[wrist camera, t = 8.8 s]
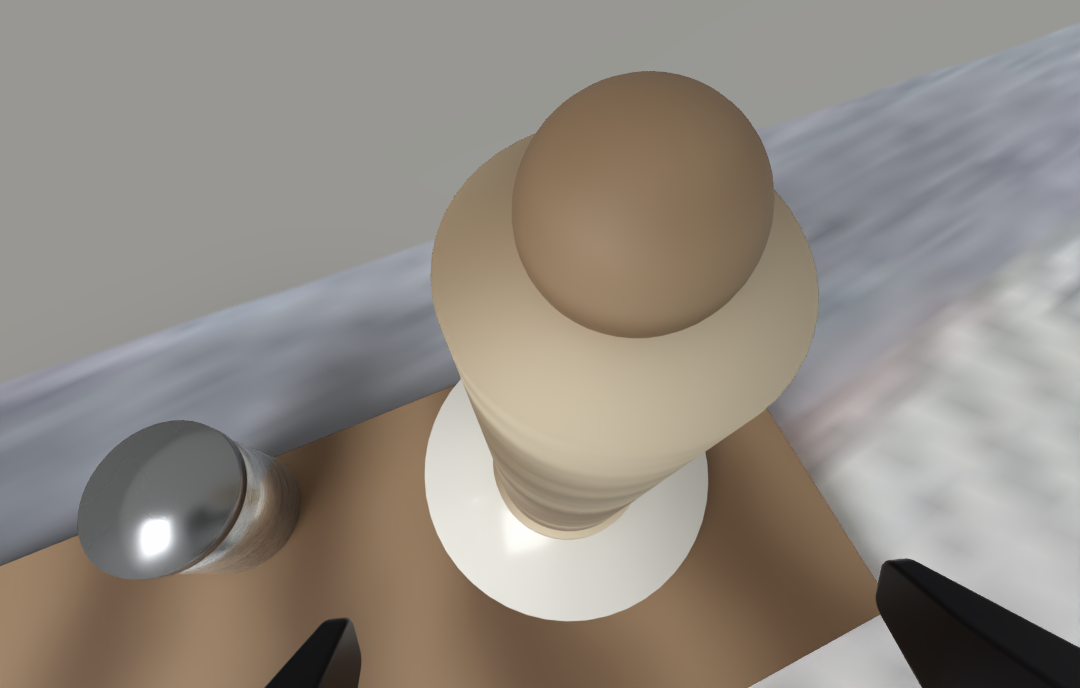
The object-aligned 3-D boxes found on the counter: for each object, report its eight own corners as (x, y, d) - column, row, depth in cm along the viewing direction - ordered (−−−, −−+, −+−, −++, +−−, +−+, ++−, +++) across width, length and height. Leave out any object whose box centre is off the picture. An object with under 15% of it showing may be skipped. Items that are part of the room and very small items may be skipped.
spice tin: (319, 460, 19) (260, 431, 15) (279, 586, 17) (200, 591, 13) (210, 443, 19) (123, 410, 15) (160, 565, 17) (46, 565, 13)
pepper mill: (663, 495, 18) (1145, 219, 4) (535, 568, 17) (532, 569, 3) (591, 374, 19) (733, -120, 5) (471, 434, 18) (272, 21, 4)
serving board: (684, 303, 23) (692, 290, 22) (870, 605, 18) (892, 607, 17) (-195, 657, 17) (-246, 664, 16) (-265, 1227, 12) (-343, 1292, 11)
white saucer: (706, 358, 20) (710, 352, 20) (699, 643, 16) (705, 646, 16) (460, 324, 21) (458, 317, 20) (396, 592, 17) (391, 592, 16)
